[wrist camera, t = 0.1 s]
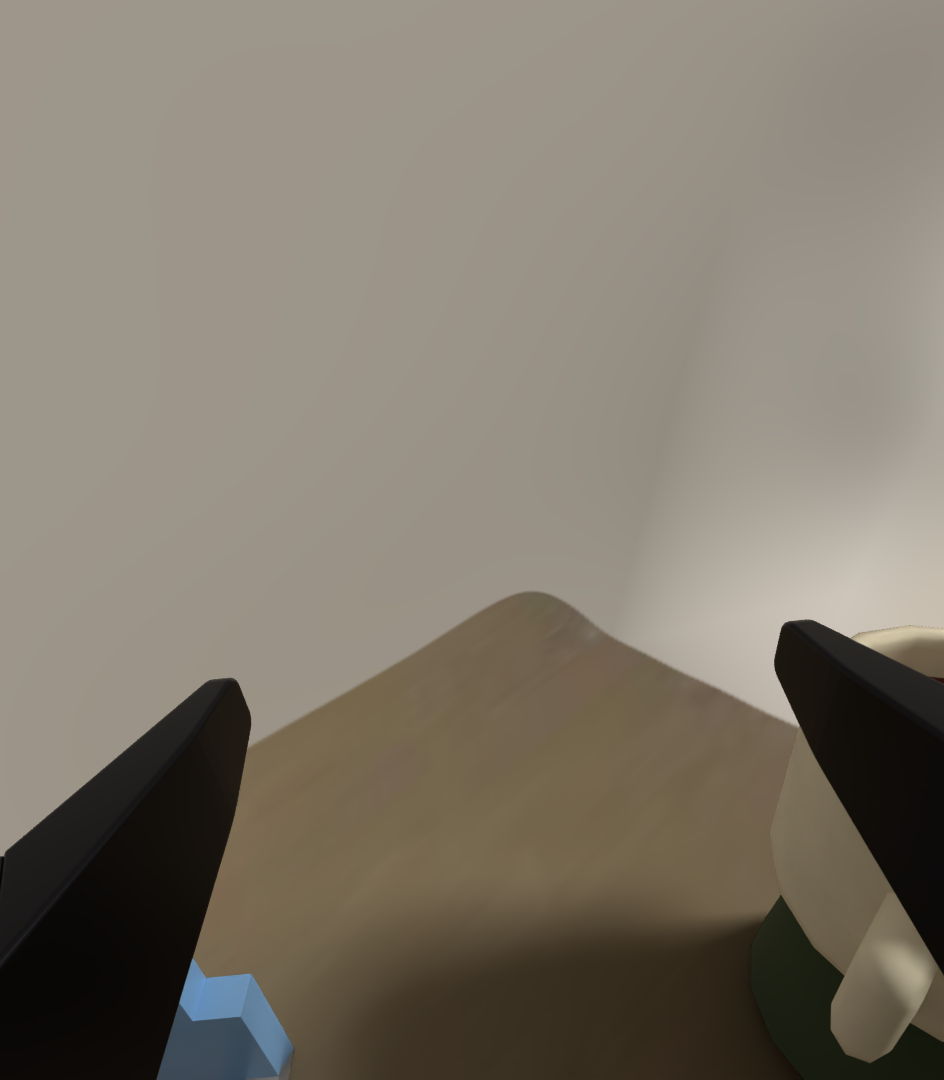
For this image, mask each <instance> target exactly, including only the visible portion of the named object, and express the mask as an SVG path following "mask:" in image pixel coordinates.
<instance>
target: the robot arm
mask: <svg viewBox="0 0 944 1080" xmlns="http://www.w3.org/2000/svg"><path fill="white" fill-rule="evenodd" d="M774 666H775V671H776V674H777V677H778V679H779V681H780V683H781V686H782V688H783V690H784V692H785V694H786V696H787V699H788V701H789V703H790V705H791V707H792V710H793V712H794V714H795V716H796V718H797V720H798V723H799V725H800V727H801V729H802V732H803V734H804V736H805V738H806V740H807V742H808V745H809V747H810V749H811V751H812V753H813V755H814V757H815V759H816V760H817V762H818V764H819V766H820V768H821V769H822V771H823V773H824V775H825V776H826V778H827V780H828V781H829V783H830V785H831V786H832V788H833V790H834V791H835V793H836V795H837V797H838V798H839V800H840V802H841V803H842V805H843V807H844V808H845V810H846V812H847V813H848V815H849V817H850V818H851V820H852V822H853V824H854V825H855V827H856V829H857V830H858V832H859V834H860V835H861V837H862V839H863V840H864V842H865V844H866V845H867V847H868V849H869V851H870V852H871V854H872V856H873V857H874V859H875V861H876V862H877V864H878V866H879V867H880V869H881V871H882V872H883V874H884V876H885V878H886V879H887V881H888V883H889V884H890V886H891V888H892V889H893V891H894V893H895V894H896V896H897V898H898V899H899V901H900V903H901V905H902V906H903V908H904V910H905V911H906V913H907V915H908V916H909V918H910V920H911V921H912V923H913V925H914V926H915V928H916V930H917V932H918V933H919V935H920V937H921V938H922V940H923V942H924V943H925V945H926V947H927V948H928V950H929V952H930V953H931V955H932V957H933V959H934V960H935V962H936V964H937V965H938V967H939V969H940V970H941V972H942V974H943V975H944V684H943V683H941V682H938V681H936V680H934V679H932V678H930V677H928V676H926V675H924V674H922V673H920V672H918V671H916V670H914V669H912V668H910V667H908V666H906V665H904V664H902V663H900V662H898V661H896V660H893V659H891V658H889V657H887V656H885V655H883V654H881V653H879V652H877V651H875V650H873V649H871V648H869V647H867V646H865V645H863V644H861V643H859V642H857V641H855V640H853V639H850V638H848V637H846V636H844V635H842V634H840V633H838V632H836V631H834V630H832V629H830V628H828V627H826V626H824V625H822V624H820V623H817V622H816V621H813V620H798V621H789V622H786V623H785V624H784V625H783V626H782V628H781V632H780V636H779V641H778V645H777V650H776V654H775V659H774ZM250 730H251V715H250V711H249V709H248V706H247V704H246V701H245V699H244V696H243V694H242V691H241V688H240V686H239V684H238V682H237V681H236V680H235V679H233V678H222V679H213V680H209V681H208V682H206V683H204V684H203V685H202V686H201V687H200V688H198V690H196V691H195V692H194V693H193V694H192V695H190V696H189V697H188V698H187V699H186V700H184V701H183V702H182V703H181V704H180V705H178V706H177V707H176V708H175V709H174V710H173V711H171V712H170V713H169V714H168V715H167V716H165V717H164V718H163V719H162V720H161V721H159V722H158V723H157V724H156V725H155V726H154V727H152V728H151V729H150V730H149V731H148V732H146V733H145V734H144V735H143V736H142V737H140V738H139V739H138V740H137V741H136V742H135V743H133V744H132V745H131V746H130V747H129V748H128V749H126V750H125V751H124V752H123V753H122V754H120V755H119V756H118V757H117V758H116V759H115V760H113V761H112V762H111V763H110V764H109V765H108V766H106V767H105V768H104V769H103V770H101V771H100V772H99V773H98V774H97V775H96V776H94V777H93V778H92V779H91V780H90V781H89V782H87V783H86V784H85V785H84V786H82V787H81V788H80V789H79V790H78V791H77V792H75V793H74V794H73V795H72V796H71V797H69V799H67V800H66V801H65V802H64V803H62V805H60V806H59V807H58V808H57V809H55V810H54V811H53V812H52V813H51V814H49V815H48V816H47V817H46V818H45V819H43V820H42V821H41V822H40V823H39V824H37V825H36V826H35V827H34V828H33V829H32V830H30V831H29V832H28V833H27V834H26V835H24V836H23V837H22V838H21V839H20V840H19V841H17V842H16V843H15V844H14V845H13V846H11V847H10V848H9V849H8V850H7V851H6V852H5V854H4V857H3V856H1V857H0V1080H157V1076H158V1073H159V1070H160V1066H161V1063H162V1060H163V1056H164V1053H165V1049H166V1046H167V1043H168V1039H169V1036H170V1033H171V1029H172V1026H173V1023H174V1019H175V1016H176V1012H177V1009H178V1006H179V1002H180V999H181V996H182V992H183V989H184V985H185V982H186V979H187V975H188V972H189V969H190V965H191V962H192V959H193V955H194V952H195V948H196V945H197V942H198V938H199V935H200V932H201V928H202V925H203V921H204V918H205V915H206V911H207V908H208V905H209V901H210V898H211V895H212V891H213V888H214V884H215V881H216V878H217V874H218V871H219V868H220V864H221V861H222V857H223V854H224V851H225V847H226V844H227V841H228V837H229V834H230V830H231V827H232V823H233V819H234V816H235V811H236V806H237V801H238V796H239V790H240V785H241V779H242V774H243V768H244V763H245V757H246V752H247V746H248V741H249V735H250Z"/></svg>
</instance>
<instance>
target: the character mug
mask: <svg viewBox="0 0 944 1080" xmlns="http://www.w3.org/2000/svg"><path fill="white" fill-rule="evenodd" d="M850 639H853V640H855V641H857V642H859V643H861V644H863V645H865V646H867V647H869V648H871V649H873V650H875V651H877V652H879V653H881V654H883V655H885V656H887V657H889V658H891V659H893V660H896V661H898V662H900V663H902V664H904V665H906V666H908V667H910V668H912V669H914V670H916V671H918V672H920V673H922V674H924V675H926V676H928V677H930V678H932V679H934V680H936V681H938V682H941V683H943V684H944V628H934V627H922V626H911V625H909V626H903V627H896V628H889V629H882V630H875V631H869V632H862V633H858V634H856V635H855V636H853V637H851V638H850ZM770 845H771V850H772V856H773V861H774V866H775V871H776V876H777V881H778V886H779V891H780V894H781V895H780V897H779V898H778V900H777V901H776V903H775V905H774V906H773V908H772V909H771V911H770V912H769V914H768V915H767V917H766V918H765V920H764V922H763V924H762V926H761V928H760V929H759V931H758V933H757V935H756V937H755V939H754V941H753V942H752V944H751V989H752V992H753V994H754V997H755V999H756V1002H757V1004H758V1006H759V1009H760V1011H761V1014H762V1016H763V1018H764V1021H765V1023H766V1026H767V1028H768V1031H769V1033H770V1035H771V1038H772V1040H773V1042H774V1043H775V1044H776V1046H777V1047H778V1048H779V1049H780V1051H781V1052H782V1053H783V1054H784V1056H785V1057H786V1058H787V1059H788V1061H789V1062H790V1063H791V1064H792V1066H793V1067H794V1068H795V1069H796V1070H797V1072H798V1073H799V1074H800V1075H801V1077H802V1078H803V1079H804V1080H944V975H943V974H942V972H941V970H940V969H939V967H938V965H937V964H936V962H935V960H934V959H933V957H932V955H931V953H930V952H929V950H928V948H927V947H926V945H925V943H924V942H923V940H922V938H921V937H920V935H919V933H918V932H917V930H916V928H915V926H914V925H913V923H912V921H911V920H910V918H909V916H908V915H907V913H906V911H905V910H904V908H903V906H902V905H901V903H900V901H899V899H898V898H897V896H896V894H895V893H894V891H893V889H892V888H891V886H890V884H889V883H888V881H887V879H886V878H885V876H884V874H883V872H882V871H881V869H880V867H879V866H878V864H877V862H876V861H875V859H874V857H873V856H872V854H871V852H870V851H869V849H868V847H867V845H866V844H865V842H864V840H863V839H862V837H861V835H860V834H859V832H858V830H857V829H856V827H855V825H854V824H853V822H852V820H851V818H850V817H849V815H848V813H847V812H846V810H845V808H844V807H843V805H842V803H841V802H840V800H839V798H838V797H837V795H836V793H835V791H834V790H833V788H832V786H831V785H830V783H829V781H828V780H827V778H826V776H825V775H824V773H823V771H822V769H821V768H820V766H819V764H818V762H817V760H816V759H815V757H814V755H813V753H812V751H811V749H810V747H809V745H808V742H807V740H806V738H805V736H804V734H803V732H802V729H801V727H799V730H798V734H797V737H796V741H795V744H794V748H793V752H792V755H791V759H790V762H789V766H788V769H787V773H786V777H785V780H784V784H783V787H782V791H781V794H780V798H779V802H778V805H777V809H776V812H775V816H774V819H773V823H772V827H771V830H770Z"/></svg>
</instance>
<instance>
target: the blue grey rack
mask: <svg viewBox="0 0 944 1080" xmlns="http://www.w3.org/2000/svg"><path fill="white" fill-rule="evenodd" d="M293 1052H294V1047H293V1045H292V1043H291V1042H290V1040H289V1038H288V1036H287V1035H286V1033H285V1031H284V1029H283V1028H282V1026H281V1024H280V1023H279V1021H278V1019H277V1017H276V1016H275V1014H274V1012H273V1010H272V1009H271V1007H270V1005H269V1003H268V1002H267V1000H266V998H265V997H264V995H263V993H262V991H261V990H260V988H259V986H258V984H257V983H256V981H255V979H254V977H253V976H252V974H244V975H233V976H222V977H212V978H206V977H205V976H204V974H203V973H202V971H201V970H200V968H199V967H198V965H197V964H196V962H195V961H194V959H192V962H191V965H190V969H189V972H188V975H187V979H186V982H185V985H184V989H183V992H182V996H181V999H180V1002H179V1006H178V1009H177V1012H176V1016H175V1019H174V1023H173V1026H172V1029H171V1033H170V1036H169V1039H168V1043H167V1046H166V1049H165V1053H164V1056H163V1060H162V1063H161V1066H160V1070H159V1073H158V1076H157V1080H289V1075H290V1069H291V1064H292V1058H293Z"/></svg>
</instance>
